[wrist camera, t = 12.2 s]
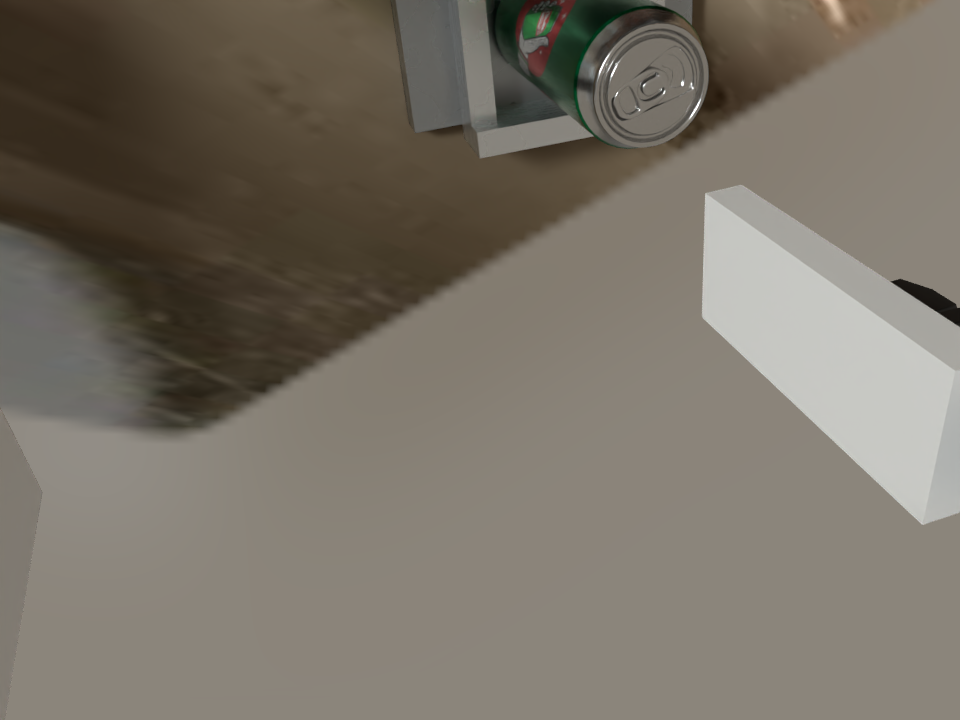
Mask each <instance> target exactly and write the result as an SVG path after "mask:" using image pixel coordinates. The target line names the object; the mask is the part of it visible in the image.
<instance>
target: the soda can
mask: <svg viewBox="0 0 960 720" xmlns="http://www.w3.org/2000/svg"><path fill="white" fill-rule="evenodd" d="M495 29H496V38H497V42H498V46H499V48H500V50H501V53H502V54H503V56H504V58H505V59H506V61H507V62H508V63H509V64H510V65H511V66H512V67H513V68H514V69H515V70H516V71H517V72H519V73H520V74H521V75H522V76H523V77H525V78H526V79H527V80H528V81H529V82H530V83H532V84H533V85H534V86H535V87H536V88H538V89H539V90H540V91H541V92H542V93H543V94H545V95H546V96H547V97H548V98H549V99H551V100H552V101H553V102H554V103H555V104H556V105H558V106H559V107H560V108H561V109H562V110H564V111H565V112H566V113H567V114H568V115H569V116H571V117H572V118H573V119H574V120H575V121H577V122H578V123H579V124H580V125H581V126H582V127H584V128H585V129H586V130H587V131H588V132H590V133H591V134H592V135H593V136H594V137H596V138H597V139H598V140H600V141H602V142H604V143H605V144H607V145H610V146H614V147H617V148H625V149H631V148H640V147H652V146H657V145H659V144H662V143H665V142H667V141H669V140H671V139H673V138H674V137H676V136H677V135H678V134H680V133H681V132H682V131H683V130H684V129H685V128H686V127H687V126H688V125H689V124H690V123H691V122H692V121H693V119H694V118H695V117H696V115H697V113H698V112H699V110H700V108H701V106H702V104H703V102H704V99H705V96H706V93H707V88H708V82H709V69H708V62H707V58H706V55H705V52H704V50H703V47H702V43H701V40H700V38H699V36H698V34H697V32H696V30H695V29H694V28H693V26H692V25H691V24H690V23H689V22H688V21H687V20H686V19H685V18H684V17H683V16H682V15H680V14H678V13H677V12H675V11H673V10H671V9H669V8H666V7H664V6H662V5H660V4H657V3H655V2H653V1H651V0H501V1H500V3H499V6H498V10H497V15H496V25H495Z"/></svg>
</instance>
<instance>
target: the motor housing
mask: <svg viewBox="0 0 960 720" xmlns="http://www.w3.org/2000/svg"><path fill="white" fill-rule="evenodd" d="M500 1H501V0H391V6H392V12H393V19H394V26H395V32H396V39H397V46H398V52H399V59H400V66H401V72H402V79H403V86H404V92H405V99H406V106H407V112H408V119H409V124H410V126H411V127H412V129H413V130H414V132H415V133H418V132H424V131H429V130H434V129H440V128H445V127H450V126H456V125H461V124H462V125H463V133H464V139H465V140H466V142H467V143H468V144H469V145H470V147H471V148H472V149H473V150H474V152H475V153H476V154H477V155H478V157H479V158H485V157H490V156H495V155H500V154H505V153H510V152H515V151H521V150H526V149H531V148H536V147H541V146H546V145H551V144H557V143H562V142H567V141H572V140H577V139H582V138H587V137H593V135H592V134H591V133H590V132H588V131H587V130H586V129H585V128H584V127H582V126H581V125H580V124H579V123H578V122H577V121H575V120H574V119H573V118H572V117H571V116H569V115H568V114H567V113H566V112H565V111H564V110H562V109H561V108H560V107H559V106H558V105H556V104H555V103H554V102H553V101H552V100H551V99H549V98H548V97H547V96H546V95H545V94H543V93H542V92H541V91H540V90H539V89H538V88H536V87H535V86H534V85H533V84H532V83H530V82H529V81H528V80H527V79H526V78H525V77H523V76H522V75H521V74H520V73H519V72H517V71H516V70H515V69H514V68H513V67H512V66H511V65H510V64H509V63H508V62H507V61H506V59H505V58H504V56H503V54H502V53H501V50H500V48H499V46H498V42H497V38H496V29H495V25H496V15H497V10H498V6H499V3H500ZM651 1H653V2H655V3H657V4H660V5H662V6H664V7H666V8H669V9H671V10H673V11H675V12H677V13H678V14H680V15H682V16H683V17H684V18H685V19H686V20H687V21H688V22H689V23H690V24H691V25H692V0H651Z"/></svg>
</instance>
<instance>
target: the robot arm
mask: <svg viewBox="0 0 960 720" xmlns="http://www.w3.org/2000/svg"><path fill="white" fill-rule="evenodd" d="M704 226H705V227H704V261H703V297H702V298H703V299H702V301H703V302H702V317H703V319H705V320H706V321H707V322H708V323H709V324H710V325H711V326H712V327H713V328H714V329H715V330H716V331H717V332H718V333H720V334H721V335H722V336H723V337H724V338H725V339H726V340H727V341H728V342H729V343H730V344H731V345H732V346H733V347H734V348H735V349H736V350H737V351H739V352H740V353H741V354H742V355H743V356H744V357H745V358H746V359H747V360H748V361H749V362H750V363H751V364H752V365H753V366H754V367H755V368H757V369H758V370H759V371H760V372H761V373H762V374H763V375H764V376H765V377H766V378H767V379H768V380H769V381H770V382H771V383H772V384H774V385H775V386H776V387H777V388H778V389H779V390H780V391H781V392H782V393H783V394H784V395H785V396H786V397H787V398H788V399H790V401H792V402H793V403H794V404H795V405H796V406H797V407H798V408H799V409H800V410H801V411H802V412H803V413H804V414H805V415H807V417H808V418H810V419H811V420H812V421H813V422H814V423H815V424H816V425H817V426H818V427H819V428H820V429H821V430H822V431H823V432H824V433H825V434H827V435H828V436H829V437H830V438H831V439H832V440H833V441H834V442H835V443H836V444H837V445H838V446H839V447H840V448H841V449H843V451H845V452H846V453H847V454H848V455H849V456H850V457H851V458H852V459H853V460H854V461H855V462H856V463H857V464H858V465H859V466H860V467H862V468H863V469H864V470H865V471H866V472H867V473H868V474H869V475H870V476H871V477H872V478H873V479H874V480H875V481H877V483H878V484H880V485H881V486H882V487H883V488H884V489H885V490H886V491H887V492H888V493H889V494H890V495H891V496H892V497H893V498H894V499H895V500H896V501H898V502H899V503H900V504H901V505H902V506H903V507H904V508H905V509H906V510H907V511H908V512H909V513H910V514H911V515H912V516H913V517H915V518H916V519H917V520H918V521H919V522H920V523H921V524H922V525H923V524H927V523H930V522H933V521H936V520H939V519H942V518H945V517H948V516H951V515H954V514H957V513H960V308H957V306H956V304H955V303H953V302H952V301H950V300H948V299H947V298H945V297H944V296H942V295H940V294H939V293H937V292H936V291H934V290H932V289H929V288H926V287H923V286H920V285H917V284H914V283H911V282H908V281H905V280H902V279H898V280H895V281H891V282H890V281H888V280H887V279H885V278H884V277H882V276H881V275H879V274H878V273H876V272H874V271H873V270H871V269H870V268H868V267H867V266H865V265H864V264H862V263H861V262H859V261H858V260H856V259H855V258H853V257H852V256H850V255H848V254H847V253H845V252H844V251H842V250H841V249H839V248H838V247H836V246H835V245H833V244H832V243H830V242H828V241H827V240H825V239H824V238H822V237H821V236H819V235H818V234H816V233H815V232H813V231H812V230H810V229H809V228H807V227H806V226H804V225H803V224H801V223H799V222H798V221H796V220H795V219H793V218H792V217H790V216H789V215H787V214H786V213H784V212H783V211H781V210H780V209H778V208H777V207H775V206H773V205H772V204H770V203H769V202H767V201H766V200H764V199H763V198H761V197H760V196H758V195H756V194H755V193H754V192H752V191H751V190H749V189H747V188H746V187H744V186H743V185H738V186H733V187H729V188H725V189H721V190H717V191H712V192H708V193H706V194H705V224H704ZM41 497H42V490H41V488H40V486H39V484H38V482H37V480H36V478H35V476H34V474H33V472H32V470H31V468H30V467H29V464H28V462H27V460H26V458H25V456H24V454H23V452H22V450H21V448H20V446H19V444H18V442H17V440H16V438H15V436H14V434H13V432H12V430H11V428H10V426H9V424H8V422H7V420H6V418H5V416H4V414H3V412H2V410H1V408H0V720H5V716H6V710H7V703H8V698H9V691H10V684H11V679H12V673H13V667H14V661H15V655H16V649H17V643H18V637H19V631H20V625H21V619H22V613H23V607H24V600H25V594H26V588H27V582H28V576H29V570H30V564H31V558H32V551H33V546H34V540H35V534H36V528H37V522H38V516H39V510H40V503H41Z"/></svg>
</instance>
